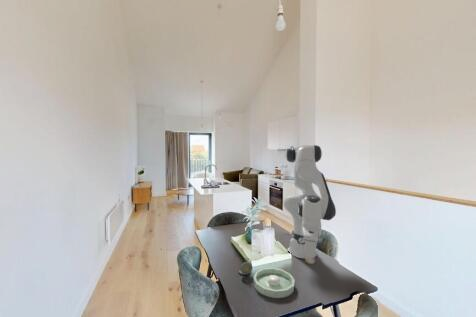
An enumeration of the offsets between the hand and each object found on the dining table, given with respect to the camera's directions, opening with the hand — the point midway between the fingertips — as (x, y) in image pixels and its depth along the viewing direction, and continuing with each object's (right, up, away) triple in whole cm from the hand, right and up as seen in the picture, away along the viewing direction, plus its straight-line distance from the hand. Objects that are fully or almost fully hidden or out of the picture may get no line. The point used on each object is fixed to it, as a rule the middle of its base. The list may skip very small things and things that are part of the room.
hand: (310, 258), depth 110 cm
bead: (0, -2, 0) cm, 2 cm away
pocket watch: (-31, -15, +16) cm, 38 cm away
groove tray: (-17, -16, +5) cm, 24 cm away
